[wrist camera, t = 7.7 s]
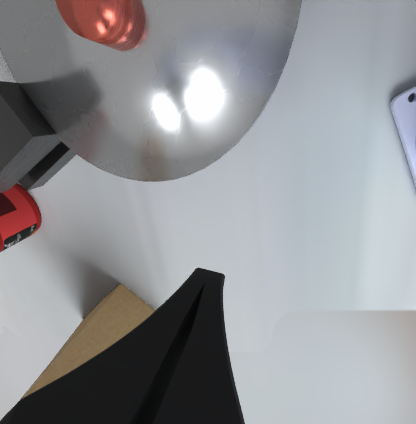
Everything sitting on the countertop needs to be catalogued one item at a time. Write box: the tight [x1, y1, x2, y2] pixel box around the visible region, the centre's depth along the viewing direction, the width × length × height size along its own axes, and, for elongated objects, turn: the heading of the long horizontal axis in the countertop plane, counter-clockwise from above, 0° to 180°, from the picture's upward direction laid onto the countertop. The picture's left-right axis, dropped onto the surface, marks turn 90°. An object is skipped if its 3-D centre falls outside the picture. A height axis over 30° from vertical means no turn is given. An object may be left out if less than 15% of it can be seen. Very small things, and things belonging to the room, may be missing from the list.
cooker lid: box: [0, 0, 302, 193], centre depth 10 cm, size 23×15×3 cm, turn 121°
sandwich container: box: [21, 284, 155, 399], centre depth 27 cm, size 9×15×15 cm, turn 138°
